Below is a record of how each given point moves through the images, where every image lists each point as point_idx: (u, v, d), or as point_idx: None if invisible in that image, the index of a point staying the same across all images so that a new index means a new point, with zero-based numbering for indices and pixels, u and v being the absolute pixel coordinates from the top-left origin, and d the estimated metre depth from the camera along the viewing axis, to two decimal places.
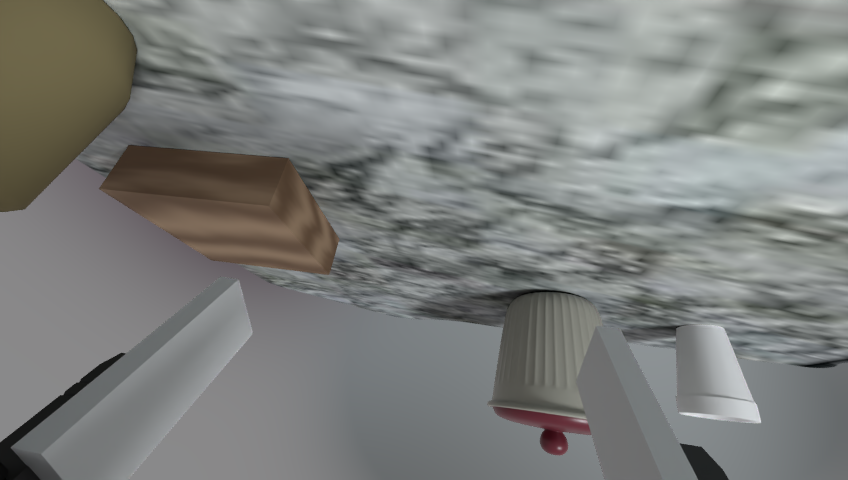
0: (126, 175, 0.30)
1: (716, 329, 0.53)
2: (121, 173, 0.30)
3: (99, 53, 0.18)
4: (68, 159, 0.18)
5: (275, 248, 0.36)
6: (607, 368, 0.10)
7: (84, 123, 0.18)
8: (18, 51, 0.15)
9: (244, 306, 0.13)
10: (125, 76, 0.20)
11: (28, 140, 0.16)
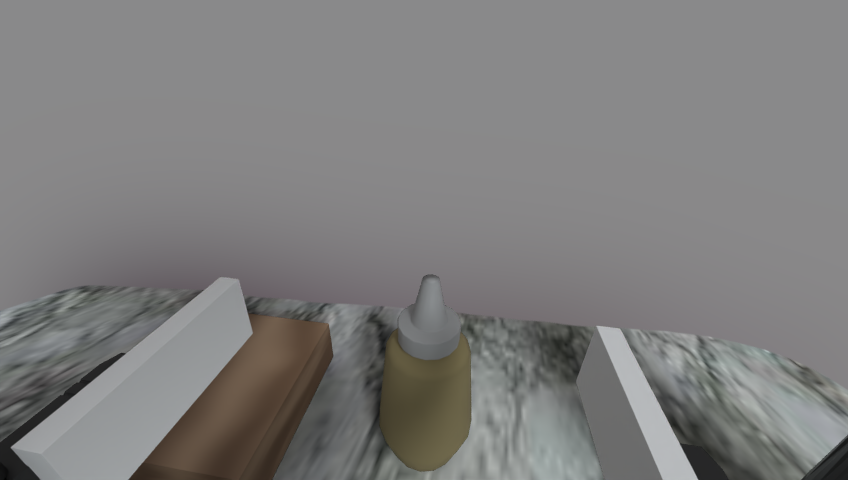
0: (323, 346, 0.37)
1: None
2: (326, 343, 0.37)
3: (421, 461, 0.26)
4: (390, 397, 0.25)
5: None
6: (607, 368, 0.10)
7: (400, 423, 0.25)
8: (446, 435, 0.26)
9: (244, 306, 0.13)
10: (399, 455, 0.27)
11: (418, 405, 0.24)
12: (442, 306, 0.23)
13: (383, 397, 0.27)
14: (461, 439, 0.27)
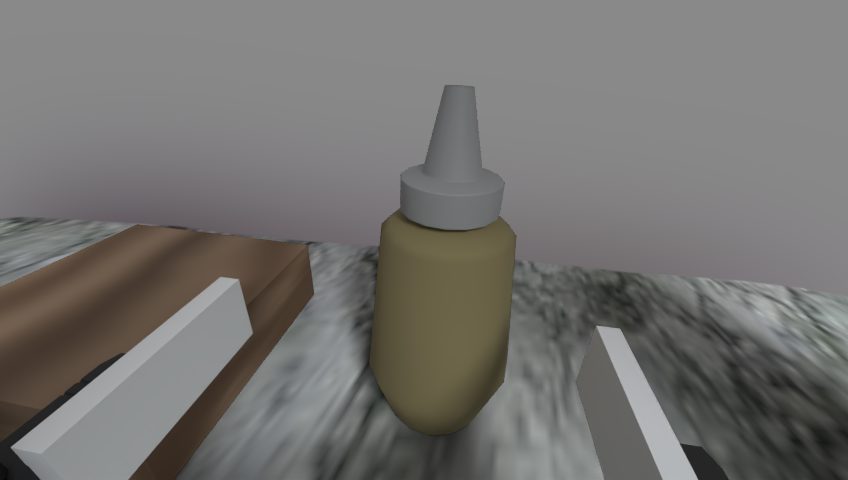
0: (299, 273, 0.27)
1: None
2: (303, 270, 0.28)
3: (432, 413, 0.16)
4: (386, 305, 0.16)
5: (45, 330, 0.18)
6: (607, 369, 0.10)
7: (400, 348, 0.16)
8: (474, 370, 0.16)
9: (245, 306, 0.13)
10: (398, 404, 0.17)
11: (431, 312, 0.14)
12: (477, 139, 0.14)
13: (375, 313, 0.17)
14: (495, 383, 0.17)
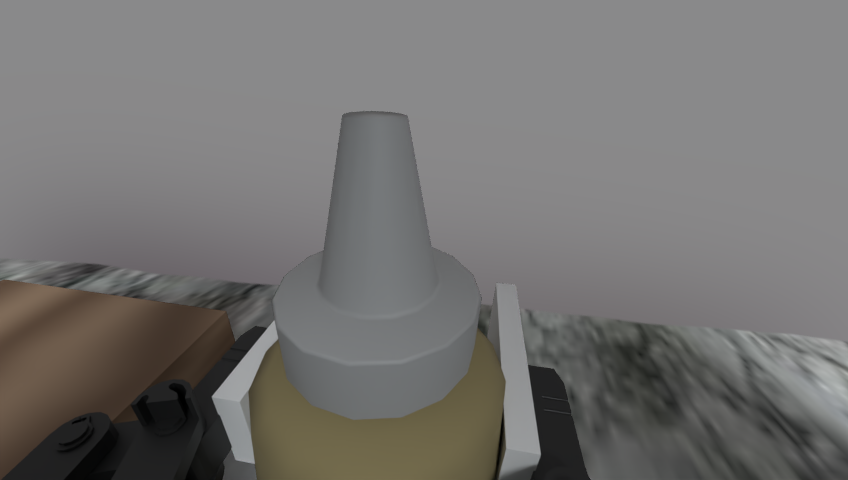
0: (212, 352, 0.20)
1: None
2: (220, 346, 0.20)
3: None
4: None
5: None
6: (496, 314, 0.12)
7: None
8: None
9: None
10: None
11: None
12: (419, 226, 0.07)
13: None
14: None
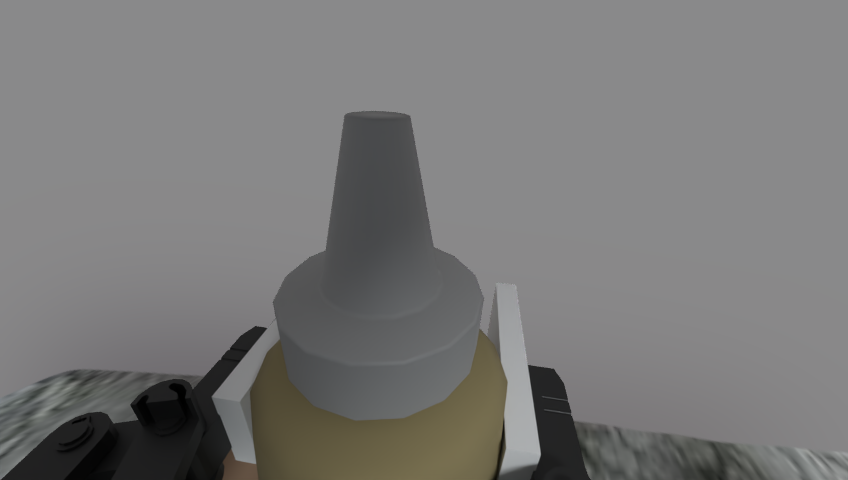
0: None
1: None
2: None
3: None
4: None
5: None
6: (496, 314, 0.12)
7: None
8: None
9: None
10: None
11: None
12: (421, 226, 0.07)
13: None
14: None
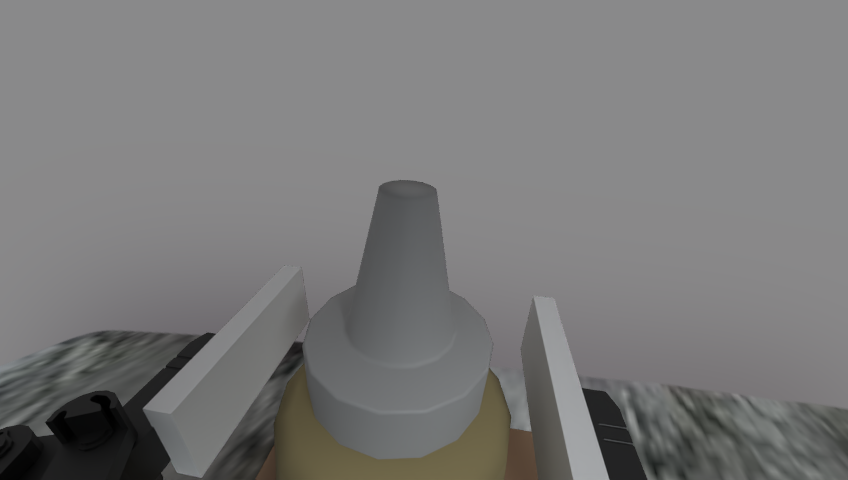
0: None
1: None
2: None
3: None
4: None
5: None
6: (537, 331, 0.11)
7: None
8: None
9: (304, 293, 0.14)
10: None
11: None
12: (442, 285, 0.07)
13: None
14: None
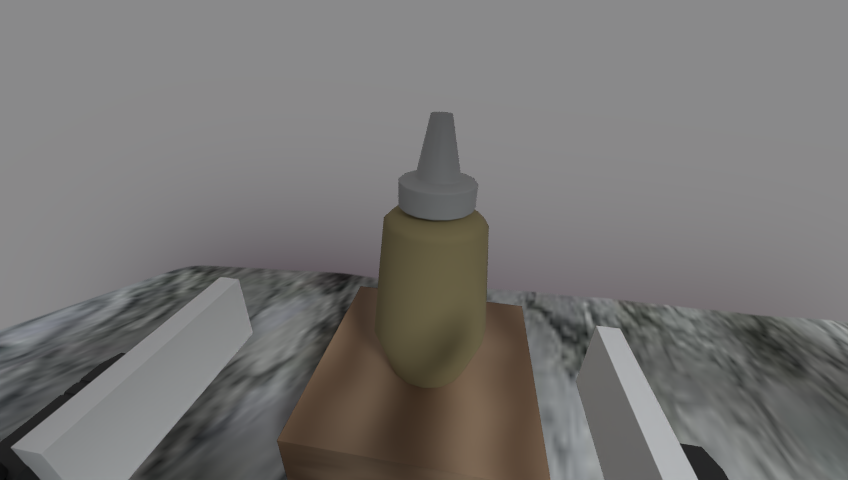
0: None
1: None
2: None
3: (425, 365, 0.21)
4: (388, 279, 0.20)
5: (402, 402, 0.23)
6: (607, 369, 0.10)
7: (399, 313, 0.20)
8: (456, 329, 0.20)
9: (244, 306, 0.13)
10: (398, 360, 0.22)
11: (423, 283, 0.19)
12: (455, 152, 0.18)
13: (379, 288, 0.22)
14: (475, 343, 0.22)
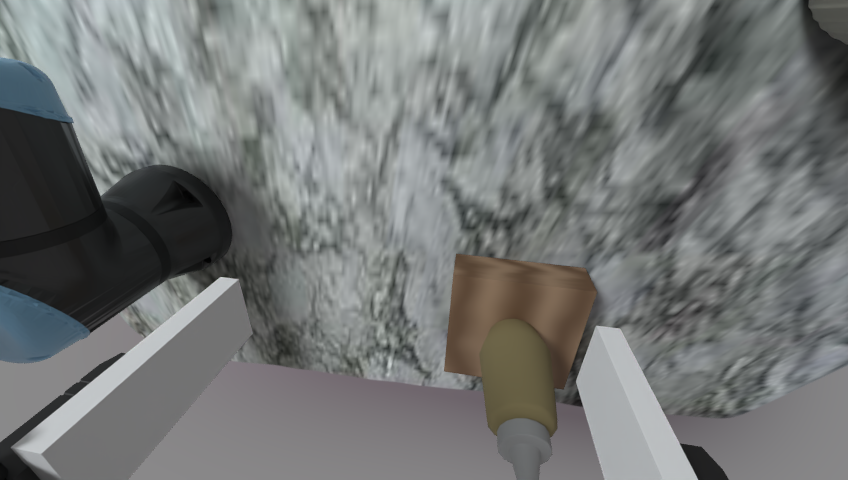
0: None
1: None
2: None
3: (518, 331, 0.37)
4: (548, 382, 0.33)
5: (527, 311, 0.40)
6: (607, 369, 0.10)
7: (538, 361, 0.34)
8: (502, 351, 0.36)
9: (244, 307, 0.13)
10: (533, 334, 0.38)
11: (527, 378, 0.32)
12: (516, 467, 0.28)
13: (552, 378, 0.34)
14: (488, 344, 0.38)
